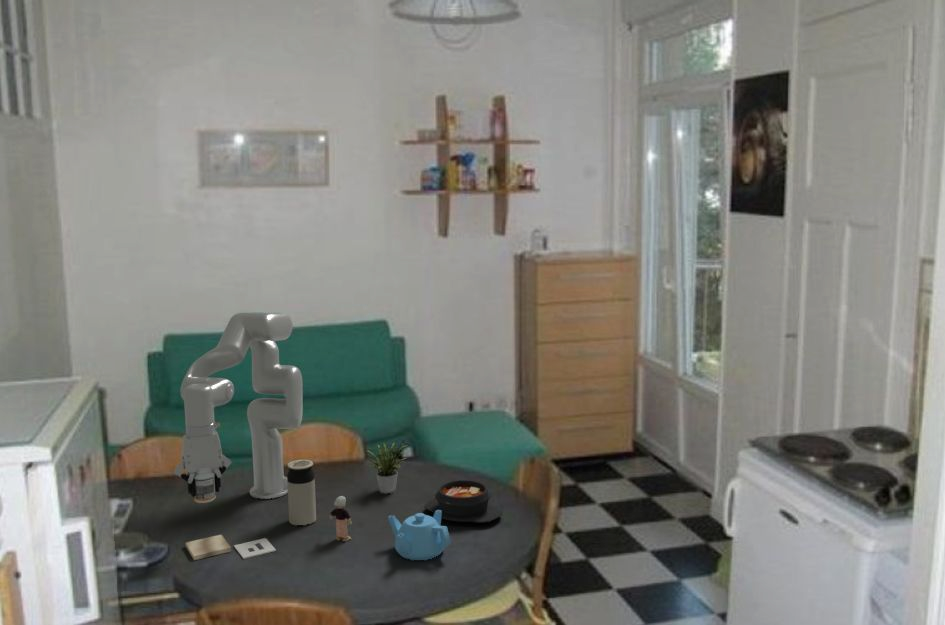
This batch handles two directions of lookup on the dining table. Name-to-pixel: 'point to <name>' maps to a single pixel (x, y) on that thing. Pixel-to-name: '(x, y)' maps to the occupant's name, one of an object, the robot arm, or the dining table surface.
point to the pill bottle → (204, 485)
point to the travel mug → (301, 492)
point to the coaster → (208, 547)
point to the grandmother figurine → (341, 518)
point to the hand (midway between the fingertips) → (204, 492)
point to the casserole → (464, 502)
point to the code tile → (254, 548)
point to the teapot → (420, 536)
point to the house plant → (387, 468)
